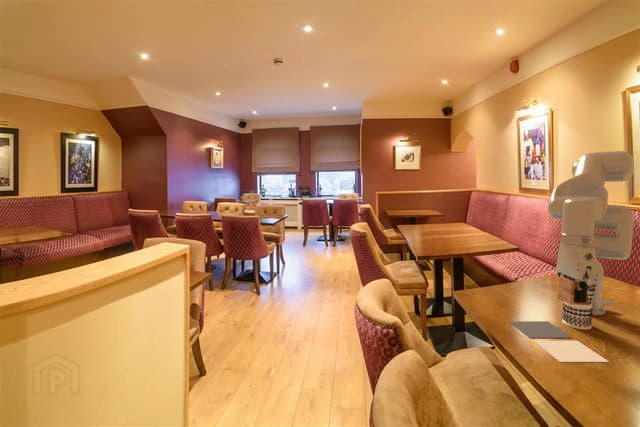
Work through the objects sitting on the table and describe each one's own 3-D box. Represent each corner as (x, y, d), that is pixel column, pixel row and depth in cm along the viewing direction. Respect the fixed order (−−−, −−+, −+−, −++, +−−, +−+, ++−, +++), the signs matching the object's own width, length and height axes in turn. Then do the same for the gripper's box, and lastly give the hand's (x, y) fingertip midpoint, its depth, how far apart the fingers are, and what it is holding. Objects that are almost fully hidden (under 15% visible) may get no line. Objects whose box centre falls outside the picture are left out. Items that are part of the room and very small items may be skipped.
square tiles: (547, 321, 118) (547, 321, 118) (609, 362, 92) (609, 361, 92) (509, 322, 118) (509, 321, 118) (559, 362, 92) (559, 361, 92)
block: (574, 298, 99) (575, 276, 98) (587, 304, 94) (588, 281, 93) (557, 298, 99) (559, 276, 98) (569, 304, 94) (571, 281, 93)
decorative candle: (595, 332, 109) (601, 262, 106) (562, 326, 114) (566, 258, 111) (590, 322, 117) (595, 256, 114) (559, 316, 122) (563, 253, 119)
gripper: (615, 246, 85) (609, 310, 87) (568, 234, 102) (564, 289, 104) (586, 246, 86) (582, 310, 88) (544, 235, 103) (541, 289, 105)
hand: (572, 298), depth 96 cm, fingers closed on block, 5 cm apart
